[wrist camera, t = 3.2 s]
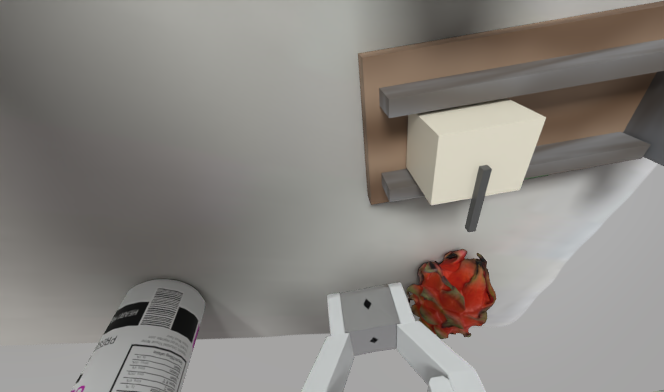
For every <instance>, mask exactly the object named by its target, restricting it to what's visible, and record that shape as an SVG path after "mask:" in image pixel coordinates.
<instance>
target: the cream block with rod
mask: <svg viewBox="0 0 664 392" xmlns="http://www.w3.org/2000/svg"><path fill="white" fill-rule="evenodd" d="M545 119H546V117H544V116H542V115H540V114H538V113H536V112H534V111H532V110H530V109H528V108H526V107H524V106H522V105H520V104H518V103H516V102H514V101H512V100H510V99H508V98H504V99H498V100H492V101H486V102H480V103H475V104H469V105H463V106H457V107H452V108H446V109H440V110H434V111H428V112H423V113H417V114H411V115H408V135H407V161H406V167H407V169H408V170H409V172H410V174H411V175H412V177H413V178H414V180H415V181H416V183H417V185H418V186H419V188H420V189H421V191H422V192H423V194H424V195H425V197H426V199H427V200H428V202H429V203H430V205H436V204H442V203H448V202H453V201H459V200H465V199H471V198H472V199H471V203H470V208H469V212H468V216H467V221H466V225H465V228H466V230H467V231H468V232H473V231H476V227H477V223H478V220H479V216H480V212H481V208H482V205H483V201H484V197H485V196H488V195H494V194H499V193H505V192H511V191H517V190H520V188H521V186H522V183H523V180H524V177H525V175H526V172H527V169H528V166H529V164H530V161H531V158H532V155H533V153H534V150H535V147H536V144H537V142H538V139H539V136H540V133H541V131H542V128H543V125H544V122H545Z"/></svg>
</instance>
